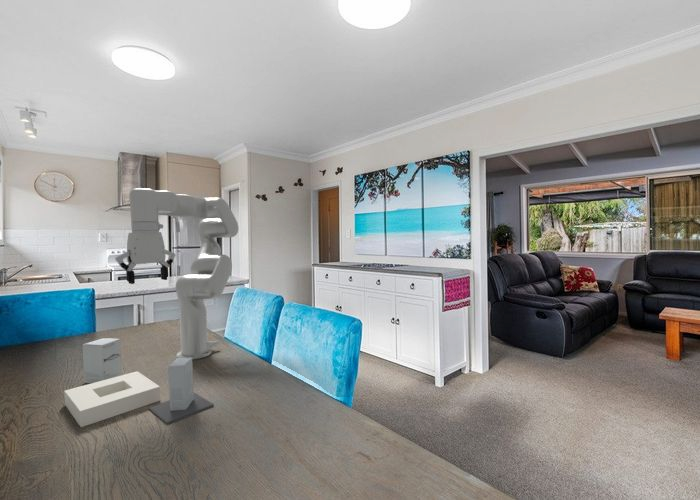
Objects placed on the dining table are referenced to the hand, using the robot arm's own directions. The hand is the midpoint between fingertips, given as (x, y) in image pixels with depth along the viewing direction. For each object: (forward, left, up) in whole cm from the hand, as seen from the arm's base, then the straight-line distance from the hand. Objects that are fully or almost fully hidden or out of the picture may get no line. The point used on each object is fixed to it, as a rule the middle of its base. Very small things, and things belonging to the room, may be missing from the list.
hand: (148, 281), depth 112 cm
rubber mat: (+2, +27, -32) cm, 42 cm away
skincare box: (+2, +27, -32) cm, 41 cm away
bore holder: (+13, +9, -32) cm, 36 cm away
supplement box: (+10, -13, -32) cm, 36 cm away
